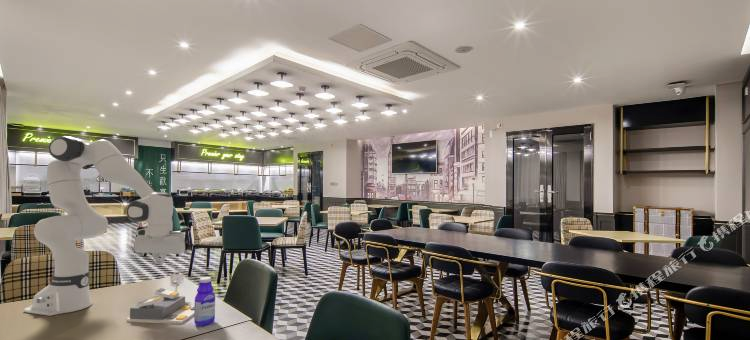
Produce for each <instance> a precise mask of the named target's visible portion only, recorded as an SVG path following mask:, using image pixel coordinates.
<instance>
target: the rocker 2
mask: <svg viewBox="0 0 750 340" xmlns="http://www.w3.org/2000/svg"><path fill="white" fill-rule="evenodd" d="M154 295H158V296H163V297H167V298H171V299H174V298H176V297H177V296H180V292H178V291H177V292H175V291H173V290H168V289H165V288H163V287H160V288H158V289H157V290H155V292H154Z"/></svg>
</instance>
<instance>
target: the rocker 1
mask: <svg viewBox="0 0 750 340" xmlns="http://www.w3.org/2000/svg"><path fill="white" fill-rule="evenodd" d="M148 299H149V298H146V299H142V300H140V301H138V302H137V303H136V305H137V306H138V307H141V306H146V305H152V304H157V303H159V302H161V301H163V300H164V298H163V297H158V298H155V299H149V300H148Z"/></svg>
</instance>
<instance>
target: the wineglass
mask: <svg viewBox="0 0 750 340" xmlns="http://www.w3.org/2000/svg"><path fill="white" fill-rule="evenodd" d="M168 280H169V286H171V287H172V288H174V292H178V288H179V287H181V286H183V283H184V280H185V277H184V272H183V271H173V272H171V273H170V275H169V279H168Z"/></svg>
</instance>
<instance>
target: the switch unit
mask: <svg viewBox="0 0 750 340" xmlns="http://www.w3.org/2000/svg"><path fill="white" fill-rule="evenodd" d="M158 297H163V296H159V295H156V294H154V295H153V296H151V297H150V298H147V299H148V300H149V299H155V298H158ZM163 298H164V300H163V301H161V302H159V303H157V304H152V305H146V306H141V307H138V306H137V304H136V305H134V306H132V307H130V308H129V317H127V318H126V321H125V322H129V323H153V324H170V325H171V324H174V325H175V324H176V325H183V324H184V323H186V322H187V321H189V319H191V318H192V317H194V312H195V305H186V296H185V295H184V296H180V295H179V296H177V297H176V298H174V299H171V298H167V297H163Z"/></svg>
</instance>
